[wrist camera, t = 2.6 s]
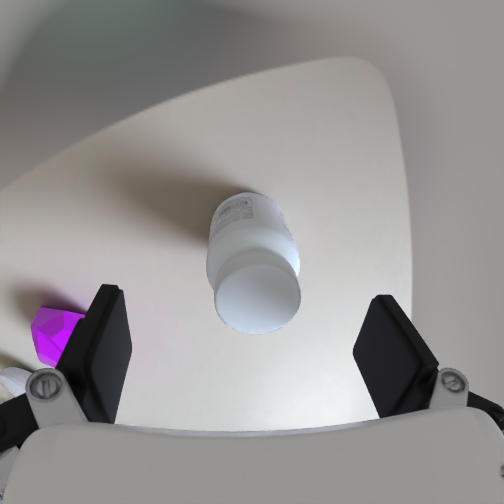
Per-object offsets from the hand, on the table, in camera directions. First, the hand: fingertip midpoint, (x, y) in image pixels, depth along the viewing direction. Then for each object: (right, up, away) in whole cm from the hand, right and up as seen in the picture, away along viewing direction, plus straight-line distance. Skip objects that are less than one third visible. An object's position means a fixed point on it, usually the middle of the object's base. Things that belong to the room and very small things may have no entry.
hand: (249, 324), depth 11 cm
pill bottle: (0, +4, +8) cm, 9 cm away
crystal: (-14, -3, +11) cm, 18 cm away
